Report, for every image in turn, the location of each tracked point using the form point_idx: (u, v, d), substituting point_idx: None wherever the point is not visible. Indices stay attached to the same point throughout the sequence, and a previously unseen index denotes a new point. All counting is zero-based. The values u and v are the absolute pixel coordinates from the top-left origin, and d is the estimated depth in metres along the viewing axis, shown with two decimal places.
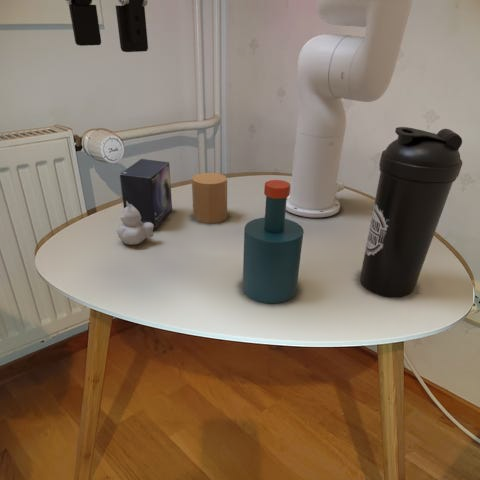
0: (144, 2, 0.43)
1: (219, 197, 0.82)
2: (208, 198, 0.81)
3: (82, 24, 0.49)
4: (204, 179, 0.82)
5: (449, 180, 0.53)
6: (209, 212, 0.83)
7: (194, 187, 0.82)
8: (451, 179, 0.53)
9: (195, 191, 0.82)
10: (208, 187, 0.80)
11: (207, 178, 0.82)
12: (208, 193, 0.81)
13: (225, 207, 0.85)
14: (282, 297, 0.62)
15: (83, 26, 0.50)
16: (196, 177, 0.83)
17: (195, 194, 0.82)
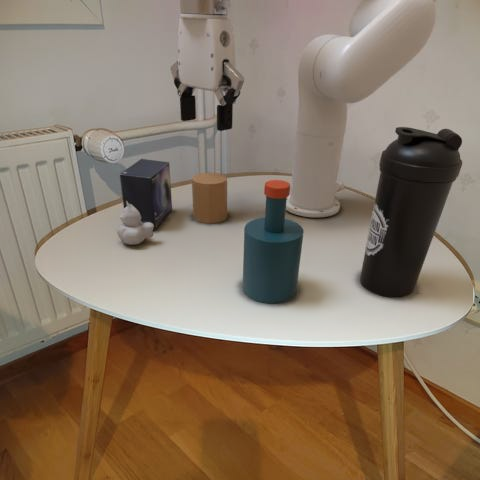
0: (233, 102, 0.71)
1: (219, 197, 0.82)
2: (208, 198, 0.81)
3: (186, 108, 0.77)
4: (204, 179, 0.82)
5: (449, 180, 0.53)
6: (209, 212, 0.83)
7: (194, 187, 0.82)
8: (451, 179, 0.53)
9: (195, 191, 0.82)
10: (208, 187, 0.80)
11: (207, 178, 0.82)
12: (208, 193, 0.81)
13: (225, 207, 0.85)
14: (282, 297, 0.62)
15: (187, 109, 0.77)
16: (196, 177, 0.83)
17: (195, 194, 0.82)
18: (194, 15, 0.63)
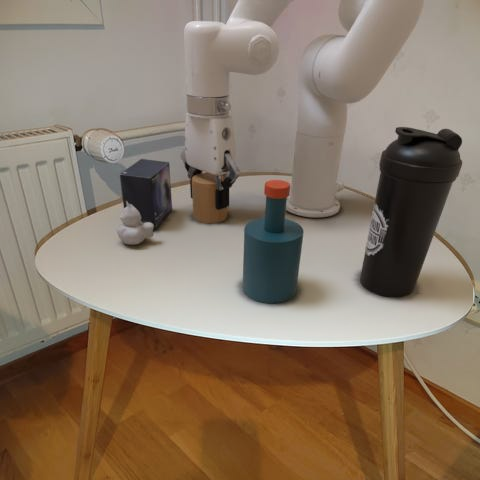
0: None
1: None
2: (208, 198, 0.81)
3: None
4: (204, 179, 0.82)
5: (449, 180, 0.53)
6: (209, 212, 0.83)
7: (193, 187, 0.82)
8: (451, 179, 0.53)
9: (195, 191, 0.82)
10: (207, 187, 0.80)
11: (207, 178, 0.82)
12: (208, 193, 0.81)
13: None
14: (282, 297, 0.62)
15: None
16: (196, 177, 0.83)
17: (195, 194, 0.82)
18: (199, 115, 0.73)
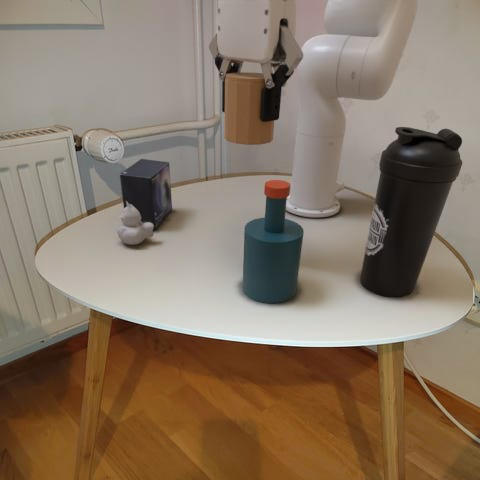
0: (283, 85, 0.54)
1: None
2: (249, 103, 0.55)
3: None
4: (244, 75, 0.55)
5: (449, 180, 0.53)
6: (249, 126, 0.56)
7: (228, 87, 0.55)
8: (451, 179, 0.53)
9: (230, 93, 0.55)
10: (250, 83, 0.53)
11: (248, 75, 0.56)
12: (250, 94, 0.54)
13: (272, 122, 0.58)
14: (282, 297, 0.62)
15: None
16: (231, 74, 0.56)
17: (230, 98, 0.56)
18: None
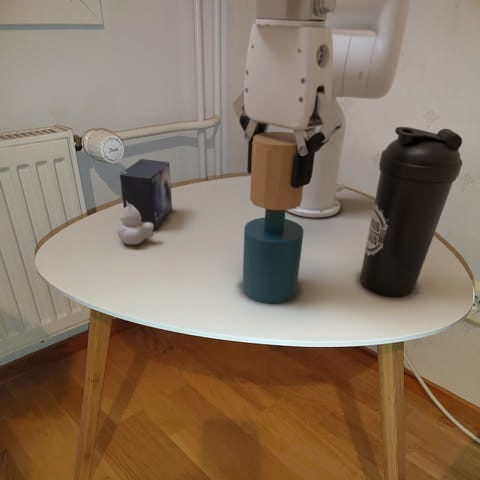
0: (316, 151, 0.50)
1: None
2: (280, 169, 0.51)
3: None
4: (273, 139, 0.51)
5: (449, 180, 0.53)
6: (279, 192, 0.53)
7: (256, 151, 0.51)
8: (451, 179, 0.53)
9: (259, 158, 0.51)
10: (281, 150, 0.50)
11: (277, 138, 0.52)
12: (281, 161, 0.50)
13: None
14: (282, 297, 0.62)
15: None
16: (259, 137, 0.52)
17: (258, 163, 0.52)
18: (281, 21, 0.42)
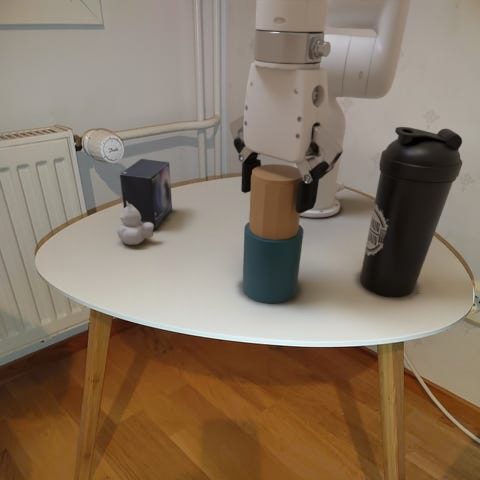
0: (321, 177, 0.52)
1: (294, 201, 0.54)
2: (277, 203, 0.53)
3: (250, 177, 0.58)
4: (271, 173, 0.54)
5: (449, 180, 0.53)
6: (277, 224, 0.55)
7: (255, 185, 0.54)
8: (451, 179, 0.53)
9: (257, 192, 0.54)
10: (279, 185, 0.52)
11: (275, 172, 0.54)
12: (278, 195, 0.53)
13: (299, 216, 0.57)
14: (282, 297, 0.62)
15: (250, 178, 0.58)
16: (258, 171, 0.55)
17: (257, 196, 0.54)
18: (279, 64, 0.44)
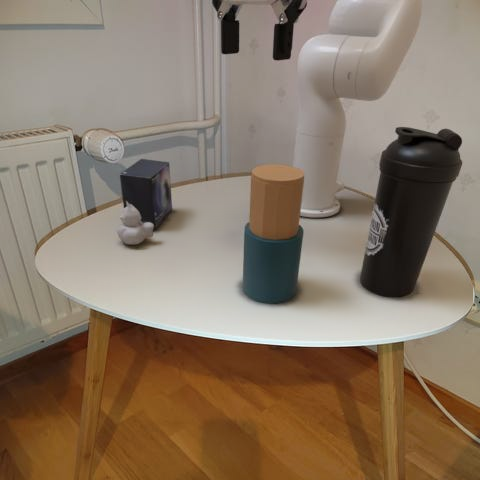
0: (296, 20, 0.54)
1: (294, 201, 0.54)
2: (277, 203, 0.53)
3: (229, 37, 0.60)
4: (271, 173, 0.54)
5: (449, 180, 0.53)
6: (277, 224, 0.55)
7: (255, 185, 0.54)
8: (451, 179, 0.53)
9: (257, 192, 0.54)
10: (279, 185, 0.52)
11: (275, 172, 0.54)
12: (278, 195, 0.53)
13: (299, 216, 0.57)
14: (282, 297, 0.62)
15: (229, 38, 0.60)
16: (258, 171, 0.55)
17: (257, 196, 0.54)
18: None
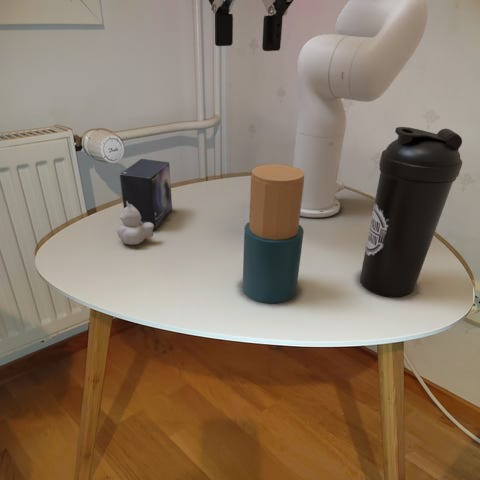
0: (284, 13, 0.57)
1: (294, 201, 0.54)
2: (277, 203, 0.53)
3: (222, 29, 0.63)
4: (271, 173, 0.54)
5: (449, 180, 0.53)
6: (277, 224, 0.55)
7: (255, 185, 0.54)
8: (451, 179, 0.53)
9: (257, 192, 0.54)
10: (279, 185, 0.52)
11: (275, 172, 0.54)
12: (278, 195, 0.53)
13: (299, 216, 0.57)
14: (282, 297, 0.62)
15: (223, 31, 0.63)
16: (258, 171, 0.55)
17: (257, 196, 0.54)
18: None
